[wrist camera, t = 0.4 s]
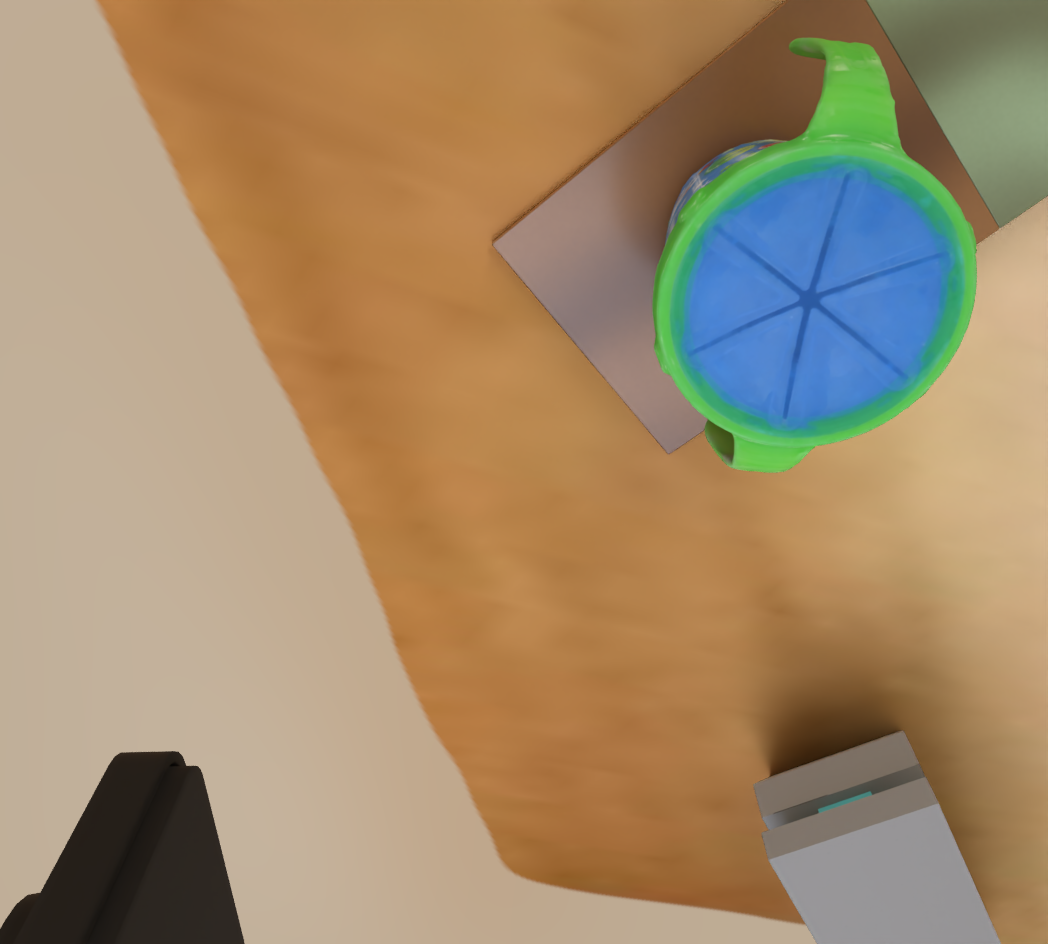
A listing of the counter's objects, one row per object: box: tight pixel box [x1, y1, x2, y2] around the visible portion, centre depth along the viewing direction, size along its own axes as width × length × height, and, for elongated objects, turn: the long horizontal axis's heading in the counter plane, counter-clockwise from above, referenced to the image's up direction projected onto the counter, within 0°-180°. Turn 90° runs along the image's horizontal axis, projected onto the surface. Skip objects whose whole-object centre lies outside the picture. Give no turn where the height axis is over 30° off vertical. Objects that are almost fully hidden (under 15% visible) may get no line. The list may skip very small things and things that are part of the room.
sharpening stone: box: [753, 730, 1001, 944], centre depth 53 cm, size 25×8×11 cm, turn 28°
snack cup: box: [652, 38, 977, 473], centre depth 37 cm, size 16×10×10 cm
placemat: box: [492, 0, 1048, 454], centre depth 40 cm, size 13×29×1 cm, turn 129°
